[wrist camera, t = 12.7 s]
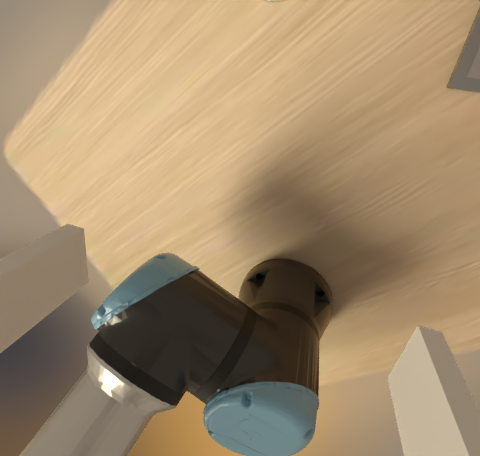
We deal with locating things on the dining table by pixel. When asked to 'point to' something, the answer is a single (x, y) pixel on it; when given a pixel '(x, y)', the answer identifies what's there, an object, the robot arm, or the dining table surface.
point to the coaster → (468, 62)
